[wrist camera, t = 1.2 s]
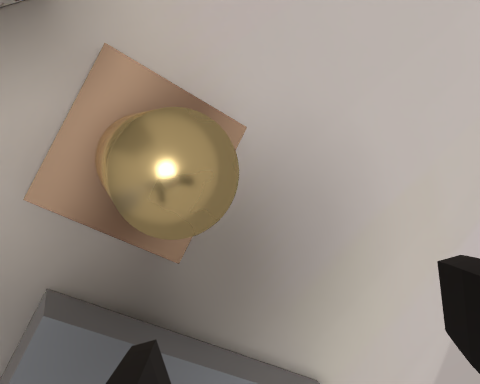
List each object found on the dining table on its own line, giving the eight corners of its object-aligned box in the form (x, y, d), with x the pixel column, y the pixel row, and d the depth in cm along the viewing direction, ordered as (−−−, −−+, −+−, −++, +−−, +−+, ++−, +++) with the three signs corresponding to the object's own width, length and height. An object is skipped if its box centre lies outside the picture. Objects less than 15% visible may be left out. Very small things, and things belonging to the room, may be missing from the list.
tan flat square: (26, 194, 18) (23, 199, 17) (102, 49, 19) (104, 42, 17) (171, 254, 21) (178, 263, 20) (235, 127, 21) (246, 127, 20)
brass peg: (77, 182, 18) (82, 207, 12) (122, 95, 18) (147, 80, 12) (164, 221, 19) (203, 259, 14) (204, 141, 19) (259, 146, 14)
